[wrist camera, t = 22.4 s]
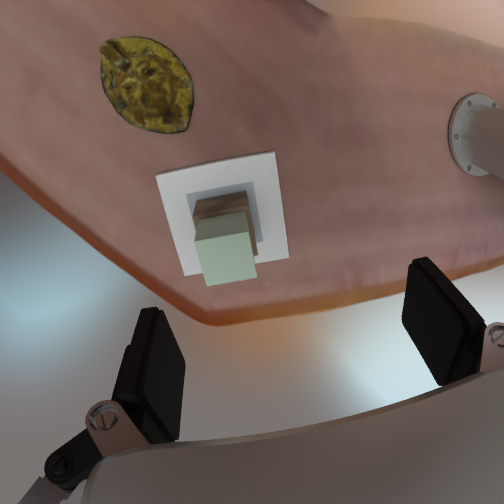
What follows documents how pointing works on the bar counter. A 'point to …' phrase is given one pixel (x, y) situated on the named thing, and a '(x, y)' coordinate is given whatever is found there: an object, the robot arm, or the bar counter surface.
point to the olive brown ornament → (147, 84)
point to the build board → (221, 183)
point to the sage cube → (225, 249)
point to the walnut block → (225, 210)
